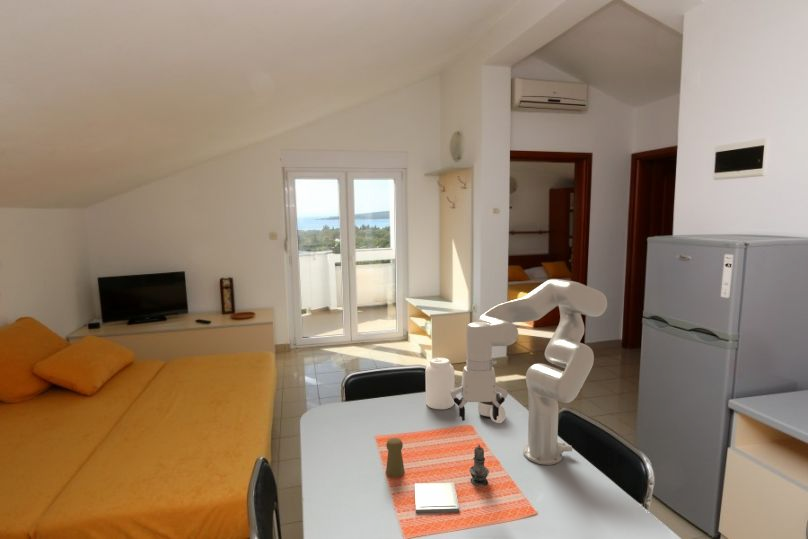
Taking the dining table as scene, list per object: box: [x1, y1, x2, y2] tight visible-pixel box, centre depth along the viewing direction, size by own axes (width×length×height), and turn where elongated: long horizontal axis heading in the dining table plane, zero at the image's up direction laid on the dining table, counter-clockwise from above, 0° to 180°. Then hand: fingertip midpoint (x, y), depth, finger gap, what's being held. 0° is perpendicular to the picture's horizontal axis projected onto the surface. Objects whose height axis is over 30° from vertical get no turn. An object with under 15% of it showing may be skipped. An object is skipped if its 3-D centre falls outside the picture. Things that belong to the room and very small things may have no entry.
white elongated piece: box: [424, 356, 456, 410], centre depth 193 cm, size 12×12×20 cm
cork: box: [385, 437, 405, 479], centre depth 143 cm, size 6×6×11 cm
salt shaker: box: [469, 444, 490, 487], centre depth 137 cm, size 6×6×12 cm
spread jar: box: [477, 391, 507, 424], centre depth 180 cm, size 12×11×12 cm
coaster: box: [414, 482, 460, 514], centre depth 130 cm, size 12×12×1 cm
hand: (478, 418), depth 136 cm, fingers open, 9 cm apart
